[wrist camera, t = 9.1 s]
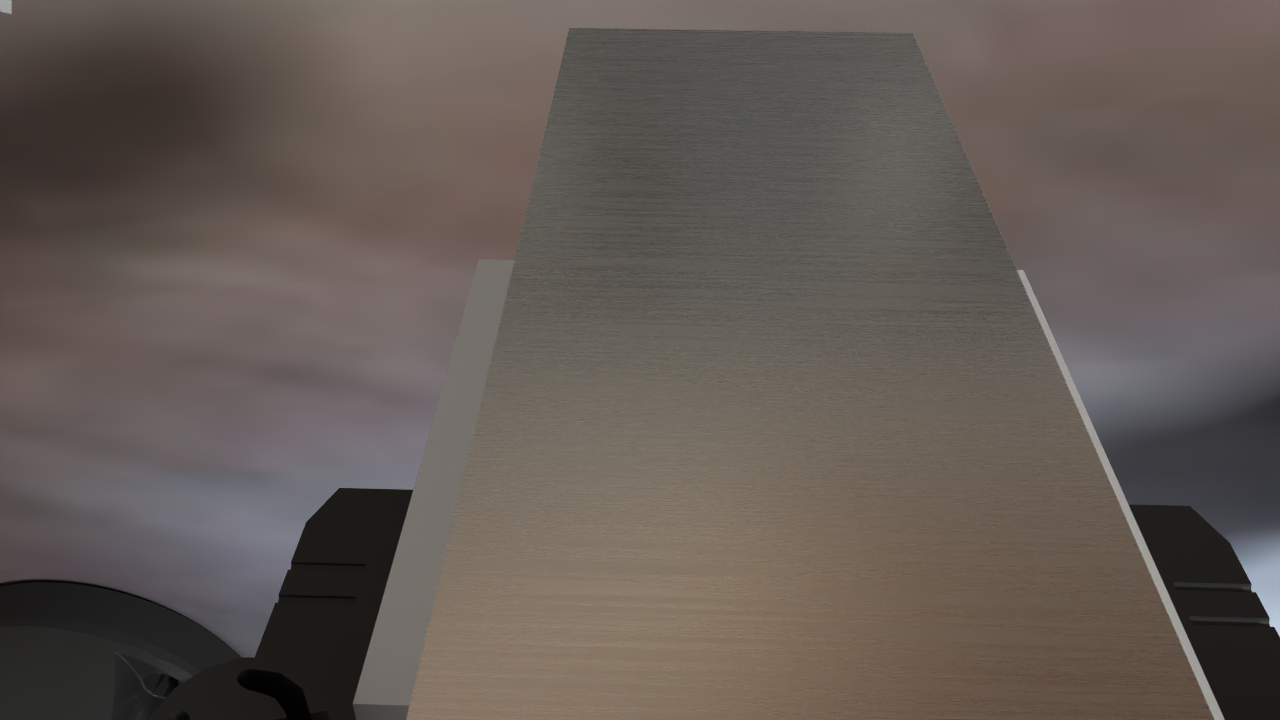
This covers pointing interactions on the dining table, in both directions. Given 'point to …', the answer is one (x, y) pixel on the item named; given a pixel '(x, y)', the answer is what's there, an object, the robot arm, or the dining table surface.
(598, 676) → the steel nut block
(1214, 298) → the dining table surface
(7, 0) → the figurine
